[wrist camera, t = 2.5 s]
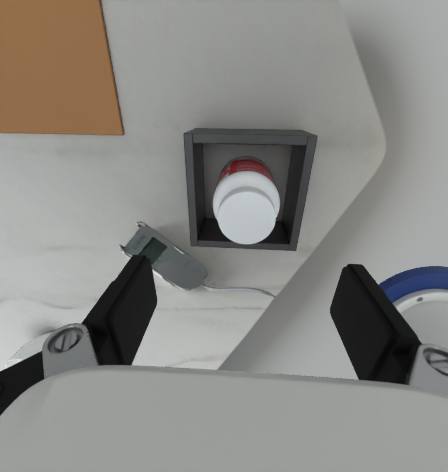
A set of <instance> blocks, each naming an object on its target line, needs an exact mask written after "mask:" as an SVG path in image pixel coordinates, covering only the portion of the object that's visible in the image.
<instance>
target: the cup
mask: <svg viewBox="0 0 448 472" xmlns="http://www.w3.org/2000/svg"><path fill="white" fill-rule="evenodd" d="M51 333H53V332H48V333H45V334H43V335H40V336H38V337H36V338H34V339H32V340H31V341H29V342H28V343H26V344H25V345H24V346H22V347H21V348H20V349H19V350H18V351H17V352H16V353H15V354H14V355H13V356H12V357H11V358H10V359H9V360H8V361H7V363H6V368H8V367H10V366H12V365H14V364H16V363H18V362H20V361H22V360H24V359H26V358H28V357H30V356H32V355H34V354H36V353H38V352H40V351H42V347H43V344H44V342H45V340H46V339H47V338H48V336H49V335H50V334H51Z"/></svg>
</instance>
